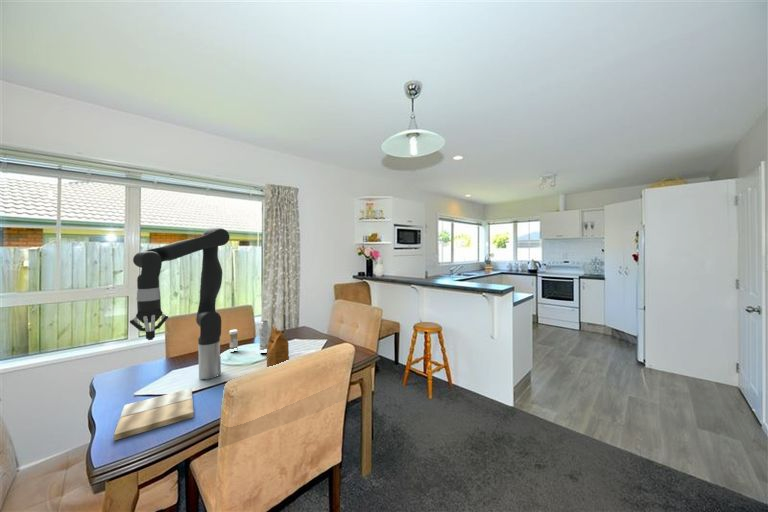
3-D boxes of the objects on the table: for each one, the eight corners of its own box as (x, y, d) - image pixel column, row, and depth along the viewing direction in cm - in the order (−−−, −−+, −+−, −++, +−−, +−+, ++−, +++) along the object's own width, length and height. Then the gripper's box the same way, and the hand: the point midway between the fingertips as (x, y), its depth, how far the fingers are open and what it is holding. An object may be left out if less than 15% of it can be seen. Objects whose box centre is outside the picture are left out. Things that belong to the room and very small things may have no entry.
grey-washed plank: (191, 392, 124) (191, 388, 124) (192, 402, 116) (192, 398, 116) (124, 409, 111) (124, 404, 111) (120, 422, 103) (120, 417, 103)
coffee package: (282, 362, 157) (281, 324, 156) (291, 370, 147) (290, 329, 147) (264, 367, 150) (263, 327, 150) (271, 375, 141) (271, 332, 140)
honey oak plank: (192, 403, 116) (192, 398, 116) (193, 417, 106) (193, 411, 106) (120, 423, 102) (120, 417, 102) (113, 440, 93) (113, 434, 93)
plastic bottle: (273, 352, 173) (272, 320, 172) (265, 356, 166) (264, 323, 166) (264, 351, 175) (264, 319, 174) (256, 354, 169) (256, 322, 168)
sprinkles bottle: (228, 351, 174) (228, 330, 173) (236, 349, 177) (235, 328, 177) (231, 353, 171) (231, 331, 170) (239, 351, 174) (238, 330, 174)
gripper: (169, 295, 123) (170, 334, 124) (128, 299, 115) (130, 340, 116) (168, 298, 117) (170, 338, 118) (126, 302, 109) (128, 345, 110)
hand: (150, 339), depth 117 cm, fingers closed
